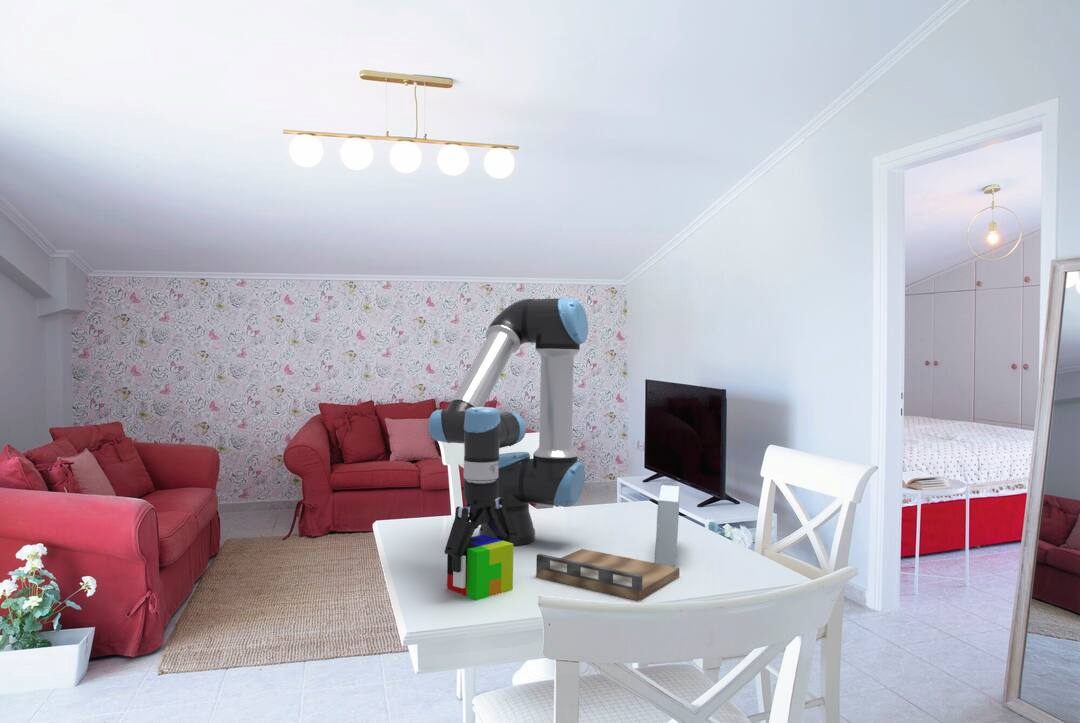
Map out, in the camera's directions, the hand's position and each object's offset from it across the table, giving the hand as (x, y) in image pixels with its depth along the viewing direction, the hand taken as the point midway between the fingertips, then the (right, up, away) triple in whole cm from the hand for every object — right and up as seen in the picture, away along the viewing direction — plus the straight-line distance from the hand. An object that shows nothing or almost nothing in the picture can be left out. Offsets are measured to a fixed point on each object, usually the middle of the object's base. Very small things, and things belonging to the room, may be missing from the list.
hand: (480, 578), depth 158 cm
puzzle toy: (0, -3, 0) cm, 2 cm away
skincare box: (+45, -3, +28) cm, 53 cm away
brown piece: (+28, -2, +10) cm, 30 cm away
